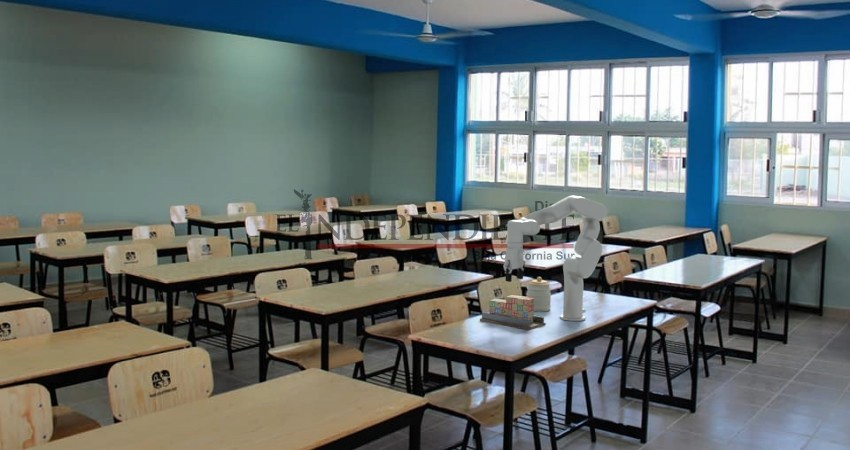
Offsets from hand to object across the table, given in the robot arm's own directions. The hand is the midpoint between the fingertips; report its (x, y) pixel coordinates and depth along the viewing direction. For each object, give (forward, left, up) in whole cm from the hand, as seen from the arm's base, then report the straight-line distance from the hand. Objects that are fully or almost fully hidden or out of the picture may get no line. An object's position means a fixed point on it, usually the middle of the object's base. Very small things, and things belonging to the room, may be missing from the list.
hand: (514, 280), depth 370 cm
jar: (-37, -9, -21) cm, 44 cm away
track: (0, 0, -21) cm, 21 cm away
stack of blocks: (+1, -1, -20) cm, 20 cm away
